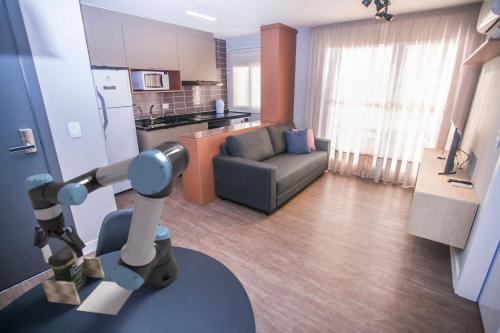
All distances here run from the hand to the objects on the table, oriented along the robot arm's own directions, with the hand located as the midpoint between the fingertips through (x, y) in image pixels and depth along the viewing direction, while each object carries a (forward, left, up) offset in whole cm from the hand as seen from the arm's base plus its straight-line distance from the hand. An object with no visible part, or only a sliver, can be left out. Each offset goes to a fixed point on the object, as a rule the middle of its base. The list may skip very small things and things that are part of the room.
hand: (64, 261), depth 98 cm
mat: (-18, +3, -13) cm, 22 cm away
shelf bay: (-2, 0, -13) cm, 13 cm away
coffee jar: (0, 0, -13) cm, 13 cm away
